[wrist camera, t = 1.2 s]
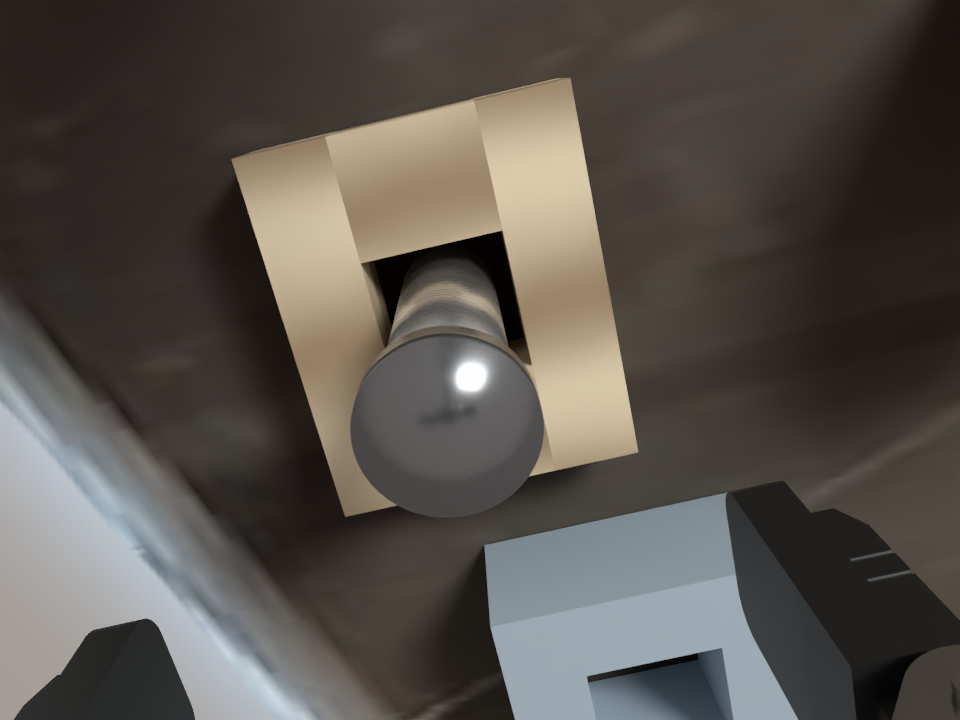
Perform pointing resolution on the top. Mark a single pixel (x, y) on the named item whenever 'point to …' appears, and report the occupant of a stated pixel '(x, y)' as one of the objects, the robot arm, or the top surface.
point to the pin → (447, 396)
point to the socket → (629, 620)
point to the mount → (435, 221)
